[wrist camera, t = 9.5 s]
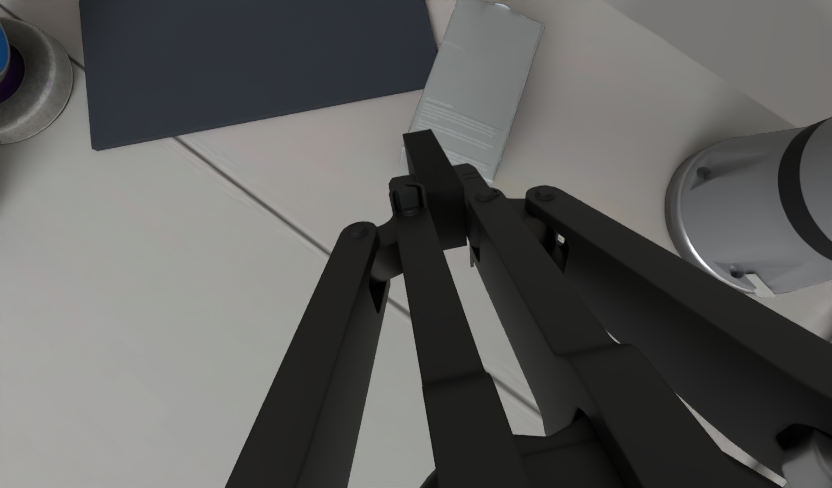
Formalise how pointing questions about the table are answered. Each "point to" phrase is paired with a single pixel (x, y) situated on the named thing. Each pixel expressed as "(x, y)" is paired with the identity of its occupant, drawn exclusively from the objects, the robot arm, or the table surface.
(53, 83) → the webcam
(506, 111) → the cosmetic box
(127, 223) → the table surface
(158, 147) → the table surface
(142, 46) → the mat
